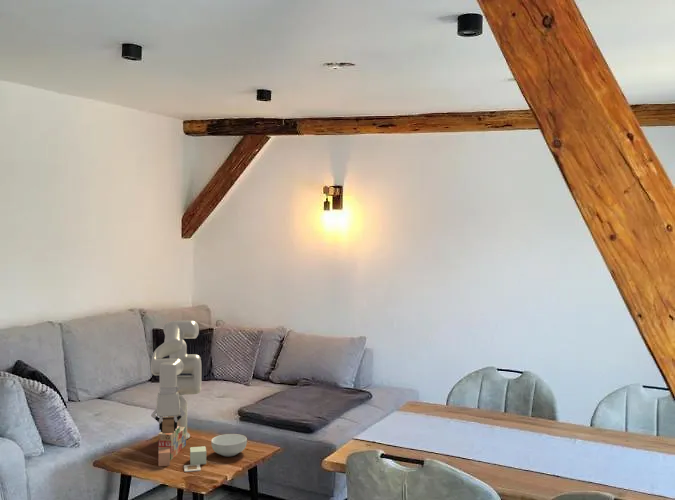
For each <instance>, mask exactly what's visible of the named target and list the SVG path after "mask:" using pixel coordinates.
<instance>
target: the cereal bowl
mask: <svg viewBox="0 0 675 500" xmlns="http://www.w3.org/2000/svg"><path fill="white" fill-rule="evenodd" d="M247 443H248V439H247V437H246V435H243V434H239V433H238V434H237V433H225V434H220V435H217V436H214V437H212V438H211V443H210V444H211V447H212V451H214V452H215V453H216V454H218V455H221V456H223V457H234V456H236V455H238V454H239V453H242V452H243V451H244V450H245V449H246V447H247Z"/></svg>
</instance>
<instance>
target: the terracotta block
mask: <svg viewBox="0 0 675 500" xmlns="http://www.w3.org/2000/svg"><path fill="white" fill-rule="evenodd" d="M157 458H158V459H157V460H158V464H157V465H158V467H166V466H171V460H170V449H160V450H159V457H157Z"/></svg>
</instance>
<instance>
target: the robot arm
mask: <svg viewBox="0 0 675 500" xmlns="http://www.w3.org/2000/svg"><path fill="white" fill-rule="evenodd" d="M162 327H163V333H164V342H163V343H162V344H160V345H159V346H158V347H157V348H155V350H154V351H153V353H152V355H151V362H150V373H151V374H152V375H153V376H159V392H157V397H156V405H155V406H156V408H155V409H154V410H153V412H152V413H151V415H150V416H151V417H152V418H153V419H154V420H155V421H156V422H158V424H159V425H158V426H159V427H158V428H159V431H160V432H162V418H163V417H170V416H174V431H176V429H177V426H180V427H186V440H188V439H190V437H191V434H190V432H188V402H187V400H186V398H185V397H184V396H185V395H187V396H188V395H199V394H200V393H201V391H202V383H203V382H202V369H203V368H202V367H203V366H202V360H201V359H202V357H201V356H200V355H198V354H196V353H194V354H193V353H192V354H190V353H189V354H188V353H187V351H188V350H187V347H188V346H187V343H186V341H185V340H186V339H188V340H189V339H194V340H195V339H197V337H198V336H199V333H200V326H199V324H198V322H197V321H195V320H191V319H190V320H187V319H186V320H171V321H168V322H166V323H164V324H163V326H162ZM168 356H169V357H168ZM165 357H167V358H165ZM181 374H191V375H181Z"/></svg>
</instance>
